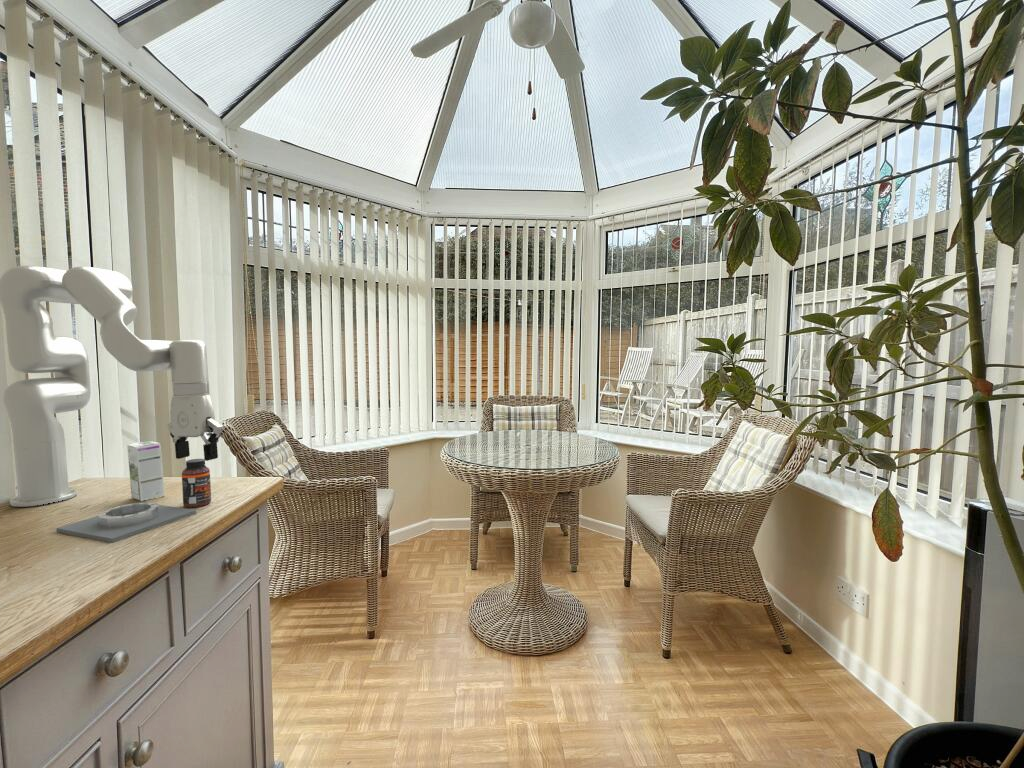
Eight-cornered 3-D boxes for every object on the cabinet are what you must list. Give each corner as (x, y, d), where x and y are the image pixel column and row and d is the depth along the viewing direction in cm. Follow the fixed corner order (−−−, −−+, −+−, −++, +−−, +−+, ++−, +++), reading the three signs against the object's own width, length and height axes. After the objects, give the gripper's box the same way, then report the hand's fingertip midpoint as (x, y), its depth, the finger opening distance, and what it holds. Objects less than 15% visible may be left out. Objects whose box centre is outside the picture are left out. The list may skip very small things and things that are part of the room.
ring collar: (88, 524, 107) (87, 515, 107) (138, 508, 117) (137, 500, 116) (119, 529, 103) (119, 520, 103) (168, 513, 113) (168, 505, 113)
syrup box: (165, 496, 129) (162, 442, 128) (139, 502, 124) (135, 446, 123) (156, 492, 132) (152, 440, 131) (130, 498, 127) (126, 444, 126)
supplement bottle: (197, 509, 119) (195, 463, 118) (177, 507, 120) (174, 462, 119) (217, 501, 124) (214, 457, 124) (197, 500, 126) (194, 457, 125)
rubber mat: (56, 531, 105) (56, 528, 104) (143, 505, 121) (143, 502, 121) (112, 542, 99) (112, 538, 98) (196, 513, 115) (195, 510, 115)
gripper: (151, 391, 119) (157, 460, 121) (202, 391, 113) (208, 463, 115) (181, 388, 126) (186, 453, 128) (230, 388, 120) (236, 456, 122)
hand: (197, 458), depth 121 cm, fingers open, 9 cm apart
